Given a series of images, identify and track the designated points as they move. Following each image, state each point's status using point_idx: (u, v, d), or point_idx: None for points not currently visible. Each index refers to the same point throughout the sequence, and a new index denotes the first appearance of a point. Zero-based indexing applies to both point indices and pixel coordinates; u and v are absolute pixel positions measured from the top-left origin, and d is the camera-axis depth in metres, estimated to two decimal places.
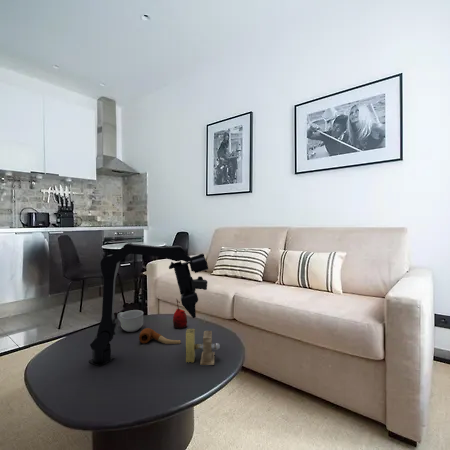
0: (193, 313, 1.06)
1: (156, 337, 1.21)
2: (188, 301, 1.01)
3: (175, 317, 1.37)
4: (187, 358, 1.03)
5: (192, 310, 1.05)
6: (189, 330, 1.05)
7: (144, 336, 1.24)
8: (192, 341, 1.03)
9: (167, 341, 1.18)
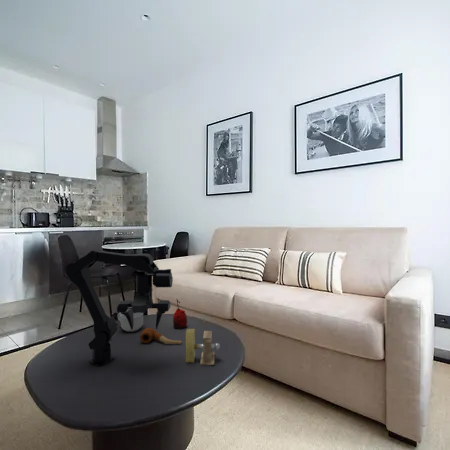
0: None
1: (157, 337, 1.20)
2: None
3: (175, 317, 1.37)
4: (187, 358, 1.03)
5: None
6: (189, 330, 1.05)
7: (145, 336, 1.24)
8: (192, 341, 1.03)
9: (168, 341, 1.18)
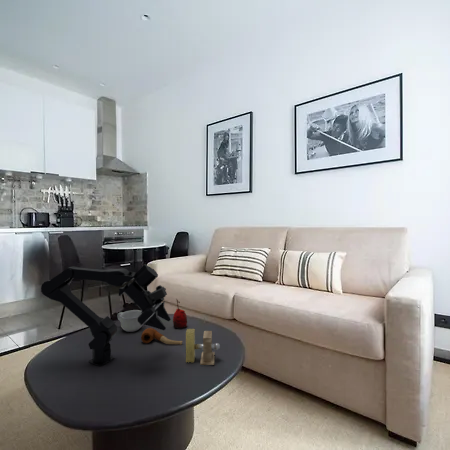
0: (160, 326, 1.00)
1: (158, 337, 1.20)
2: (144, 319, 0.95)
3: (175, 317, 1.37)
4: (187, 358, 1.03)
5: (157, 324, 0.99)
6: (189, 330, 1.05)
7: (147, 336, 1.24)
8: (192, 341, 1.03)
9: (169, 341, 1.18)
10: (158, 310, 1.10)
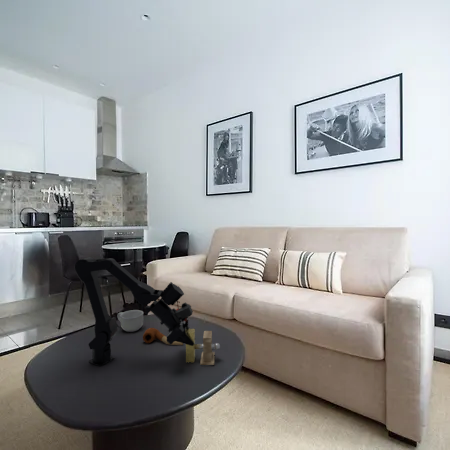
0: (189, 342, 1.02)
1: (159, 337, 1.20)
2: (173, 338, 0.96)
3: None
4: (187, 358, 1.03)
5: (186, 340, 1.02)
6: (189, 330, 1.05)
7: (149, 336, 1.25)
8: None
9: None
10: None
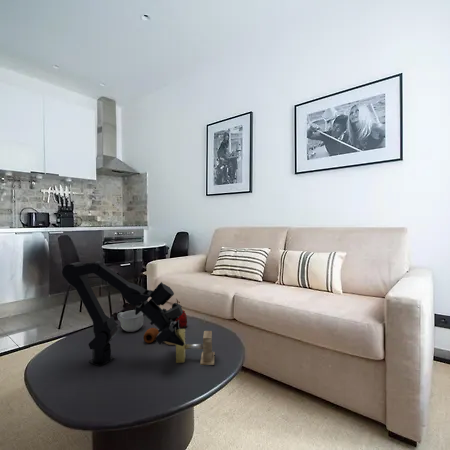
0: (179, 342, 1.02)
1: None
2: (163, 338, 0.95)
3: None
4: (177, 358, 1.03)
5: (176, 340, 1.02)
6: (179, 330, 1.05)
7: (150, 336, 1.25)
8: None
9: None
10: None
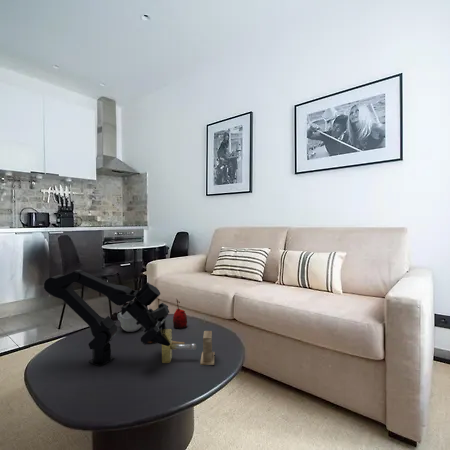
0: (165, 342, 1.02)
1: None
2: (147, 339, 0.95)
3: (175, 317, 1.37)
4: (163, 358, 1.03)
5: (162, 340, 1.02)
6: (165, 331, 1.05)
7: None
8: None
9: None
10: None
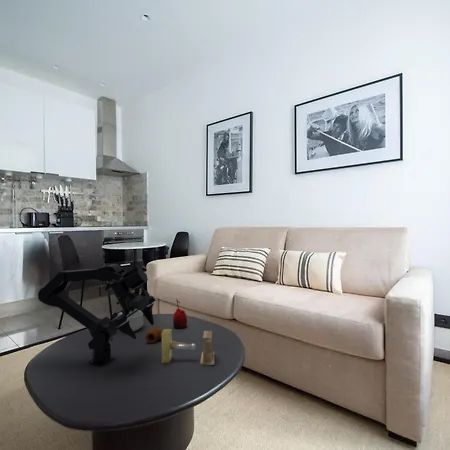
0: (131, 335, 0.99)
1: None
2: (112, 326, 0.96)
3: (175, 317, 1.37)
4: (163, 358, 1.03)
5: (128, 332, 0.99)
6: (165, 331, 1.05)
7: (153, 335, 1.25)
8: (168, 341, 1.03)
9: (172, 343, 1.16)
10: (145, 311, 1.08)
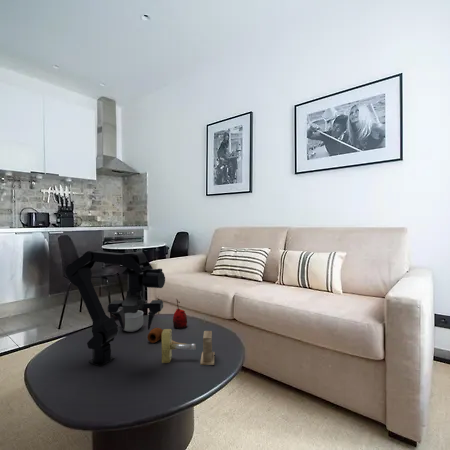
0: None
1: None
2: None
3: (175, 317, 1.37)
4: (163, 358, 1.03)
5: None
6: (165, 331, 1.05)
7: (155, 335, 1.25)
8: (168, 341, 1.03)
9: (172, 343, 1.16)
10: None
